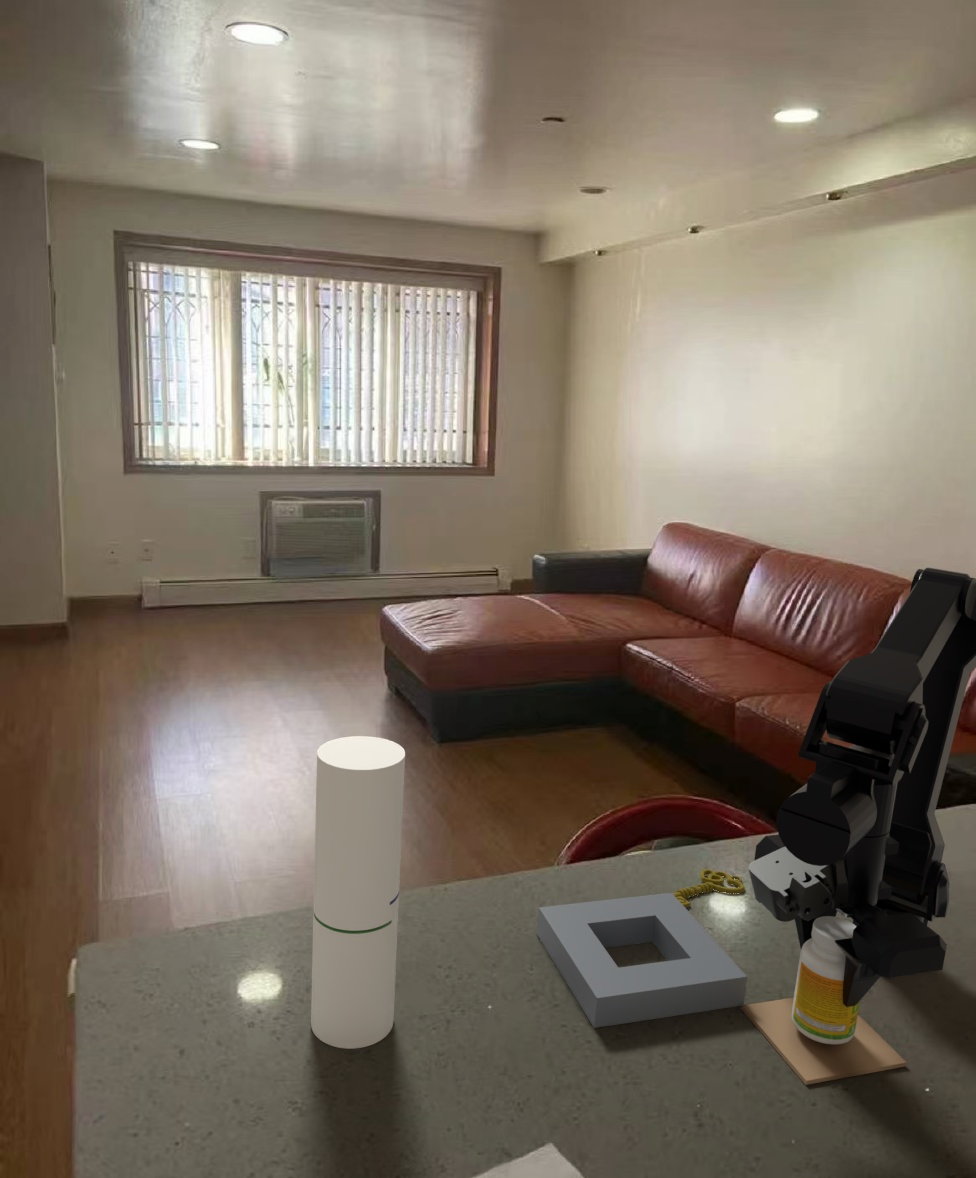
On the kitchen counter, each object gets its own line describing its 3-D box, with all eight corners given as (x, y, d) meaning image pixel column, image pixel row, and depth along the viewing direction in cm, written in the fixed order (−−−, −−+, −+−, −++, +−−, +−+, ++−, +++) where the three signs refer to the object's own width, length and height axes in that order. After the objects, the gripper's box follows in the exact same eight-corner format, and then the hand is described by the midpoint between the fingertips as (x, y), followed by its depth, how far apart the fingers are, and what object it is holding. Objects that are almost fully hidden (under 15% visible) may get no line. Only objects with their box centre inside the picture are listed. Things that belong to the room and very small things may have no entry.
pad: (833, 994, 94) (834, 991, 94) (905, 1066, 84) (906, 1062, 84) (741, 1009, 91) (741, 1005, 91) (805, 1084, 81) (806, 1080, 81)
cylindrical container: (406, 1007, 88) (418, 745, 83) (371, 1057, 81) (382, 776, 76) (335, 987, 90) (342, 730, 85) (295, 1034, 84) (300, 759, 78)
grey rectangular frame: (668, 917, 105) (671, 892, 105) (743, 1004, 91) (747, 976, 91) (536, 933, 101) (538, 907, 100) (594, 1027, 87) (596, 997, 86)
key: (675, 905, 106) (646, 883, 110) (674, 915, 106) (644, 893, 111) (755, 883, 112) (724, 863, 116) (753, 893, 112) (722, 873, 117)
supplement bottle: (859, 1051, 84) (875, 950, 82) (794, 1040, 85) (808, 940, 83) (849, 1012, 89) (864, 916, 87) (788, 1002, 90) (801, 906, 88)
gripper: (713, 782, 89) (695, 936, 93) (842, 888, 72) (814, 1072, 75) (818, 774, 93) (797, 923, 96) (965, 873, 75) (933, 1050, 79)
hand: (828, 985), depth 86 cm, fingers closed on supplement bottle, 5 cm apart
